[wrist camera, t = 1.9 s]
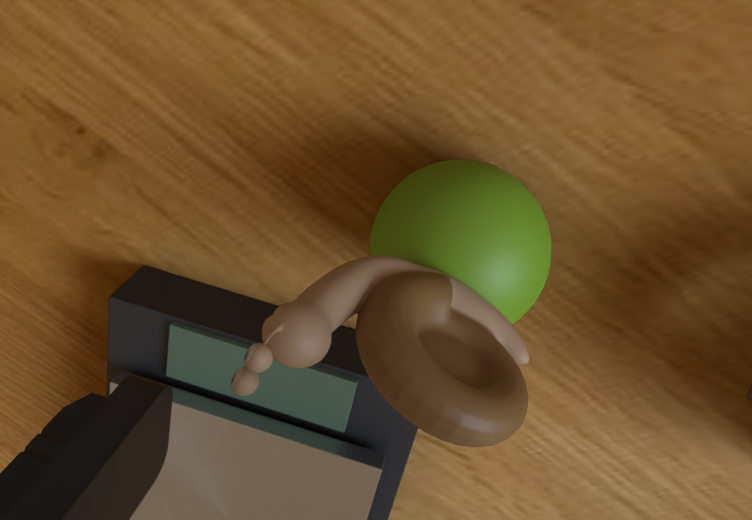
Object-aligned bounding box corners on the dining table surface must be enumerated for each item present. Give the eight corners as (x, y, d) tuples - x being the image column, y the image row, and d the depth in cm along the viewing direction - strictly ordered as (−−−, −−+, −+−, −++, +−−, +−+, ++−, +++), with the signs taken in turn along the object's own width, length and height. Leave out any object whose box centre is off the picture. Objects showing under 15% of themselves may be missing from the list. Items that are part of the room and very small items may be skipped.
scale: (143, 264, 27) (104, 299, 24) (437, 354, 26) (427, 400, 23) (130, 504, 34) (99, 550, 31) (363, 582, 33) (349, 636, 30)
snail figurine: (412, 88, 21) (293, 260, 11) (584, 192, 22) (626, 455, 11) (336, 220, 24) (183, 459, 14) (491, 311, 25) (456, 611, 14)
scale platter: (121, 369, 26) (109, 382, 25) (386, 454, 25) (382, 470, 24) (114, 541, 30) (104, 556, 30) (336, 617, 30) (331, 634, 29)
